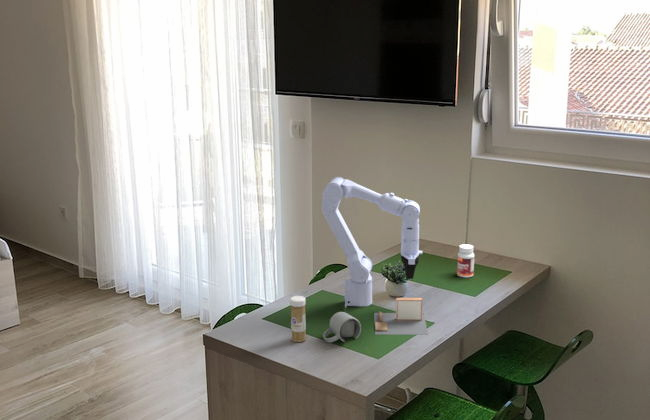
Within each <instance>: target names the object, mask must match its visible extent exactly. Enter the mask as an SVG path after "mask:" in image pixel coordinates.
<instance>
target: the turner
mask: <svg viewBox="0 0 650 420" xmlns="http://www.w3.org/2000/svg"><path fill="white" fill-rule="evenodd" d="M377 313H378V315H379V322H375V323H374V330H375V329H376V331H387V322H383V318H382V313H383V311H378V312H377Z"/></svg>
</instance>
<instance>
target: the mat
mask: <svg viewBox="0 0 650 420" xmlns="http://www.w3.org/2000/svg"><path fill="white" fill-rule="evenodd" d="M382 318H383V322H387V331H376V329H375V328H374V335H375V336H376V335H382V336H383V335H384V336H387V335H390V336H391V335H392V336H393V335H395V336H396V335H397V336H398V335H403V336H405V335H409V336H411V335H413V336H415V335H416V336H419V335H422V336H423V335H426V336H427V335H429V332H428V329H427V323H426V319H425V314H424V313H423V312H422V320H396V312H382ZM373 319H374V321H373V322H374V324H375V322H379V315H378V312H374V313H373Z"/></svg>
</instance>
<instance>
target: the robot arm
mask: <svg viewBox="0 0 650 420" xmlns="http://www.w3.org/2000/svg"><path fill="white" fill-rule="evenodd" d="M321 196H322V201H321V213H322V215H323V216H324V219H325V220H326V222H327V224H328V226H329V228H330V229H331V231H332V233H333V235H334V237H335V239H336V241H337V242H338V245H339V246H340V248H341V250H342V252H343V254H344V256H345V258H346V262H347V267H348V270H349V276H350V278H347V279H344V296H343V301H344V308H345V309H347V308H348V307H347V306H349V307H350V306H351V307H352V306H353V307H368V306H370V305H372V304H373V277H372V275H371V271H372V269H373V261H372V260H371V259H370V258H369V257H367V256H366V254H365V253H364V251H363V250H361V249H360V248H359V245H358V244H357V242H356V240H355V238H354V236H353V234H352V232H351V231H350V229H349V227H348V225H347V224H346V221H345V220H344V217H343V215H342V214H341V212H340V210H339V206H340V203H341V202H342V198H343V196H344V199H346V200H347V199H350V198H354V197H355V198H359V199H362V200H364V201H367V202H371V203H374V204H375V205H378V207H379V209H380V210H381V211H384V212H386V213H389V214H392V215H394V216H397V217H400V218H401V220H402V223H401V227H400V228H401V235H400V237H401V238H400V244H401V245H400V255H401V256H400V258H401V262H402V264H403V266H404V272H405V277H406V279H409V280H410V279H411V280H413V279H414V276H415V271H416V267H417V265H418V264H419V262H420V259H419V255H423V250H420V219H419V217H420V212H421V207H420V205H419V203H418V202H416V201H415V200H412V199H411V200H410V199H407V198H404V199H403V198H401V197H399V196H396V195H395V193H394V192H385V193H384V194H381V193H379V192H376V191H374V190H373V189H369V188H367V187H365V186H363V185H361V184H358V183H356V182H355V181H353V180H350V179H347V178H346V179H344V178H343V177H341V176H335V177H333V178H332V179H331V180H330V181H329V182H328V184H326V186H325V187H324V189H323V191H322V193H321Z"/></svg>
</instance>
